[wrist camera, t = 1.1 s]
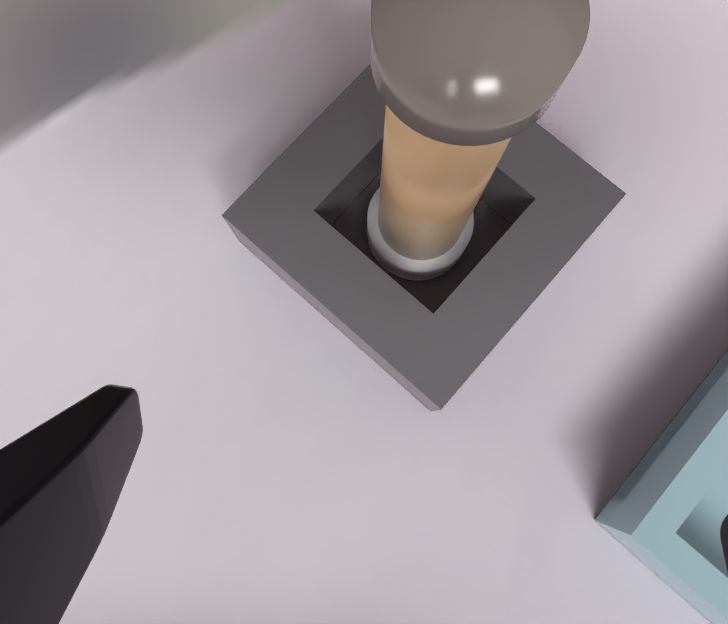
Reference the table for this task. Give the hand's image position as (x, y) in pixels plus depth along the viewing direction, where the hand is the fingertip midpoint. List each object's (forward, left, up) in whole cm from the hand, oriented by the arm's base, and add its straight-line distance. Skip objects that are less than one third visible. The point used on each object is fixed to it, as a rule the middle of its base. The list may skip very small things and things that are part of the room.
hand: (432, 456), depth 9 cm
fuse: (+7, +4, -14) cm, 16 cm away
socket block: (+7, +4, -14) cm, 16 cm away
